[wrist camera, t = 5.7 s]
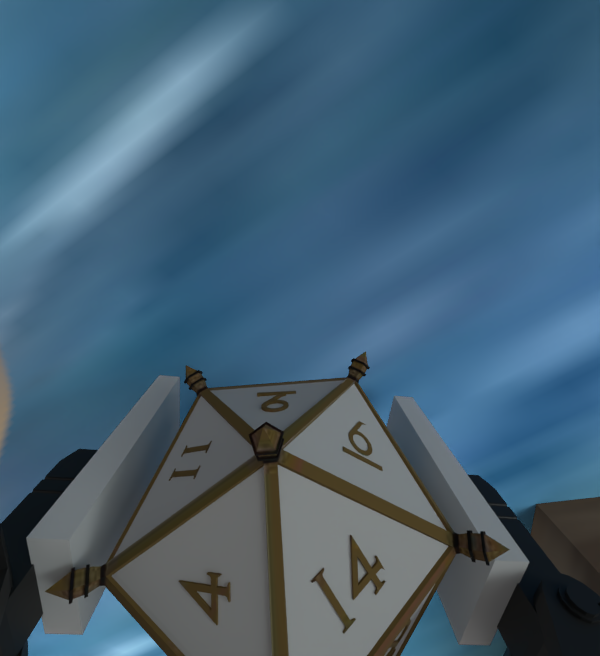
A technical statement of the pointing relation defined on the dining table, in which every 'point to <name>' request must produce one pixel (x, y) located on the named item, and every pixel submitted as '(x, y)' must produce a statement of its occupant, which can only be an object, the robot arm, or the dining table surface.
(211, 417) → the game die
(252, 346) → the dining table surface
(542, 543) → the walnut block
